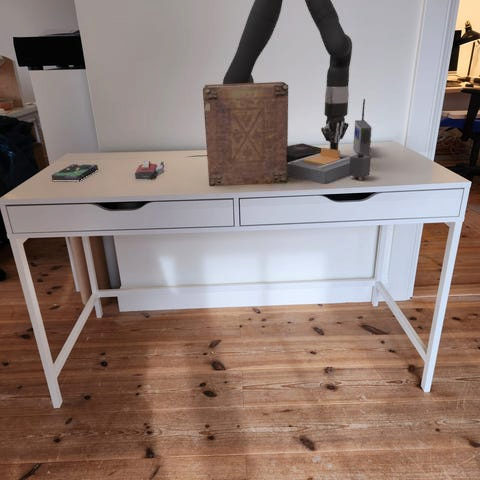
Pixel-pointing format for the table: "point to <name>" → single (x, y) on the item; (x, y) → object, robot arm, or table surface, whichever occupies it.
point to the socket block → (319, 169)
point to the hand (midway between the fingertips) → (333, 152)
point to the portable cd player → (301, 151)
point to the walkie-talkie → (148, 170)
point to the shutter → (324, 157)
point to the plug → (359, 165)
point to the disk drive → (74, 172)
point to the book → (246, 133)
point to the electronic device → (362, 135)
